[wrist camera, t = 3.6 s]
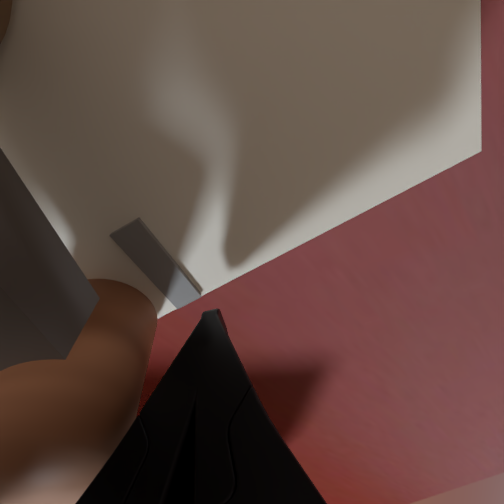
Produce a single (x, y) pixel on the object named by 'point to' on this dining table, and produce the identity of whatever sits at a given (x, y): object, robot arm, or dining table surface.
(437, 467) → the dining table surface
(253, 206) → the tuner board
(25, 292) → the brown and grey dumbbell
